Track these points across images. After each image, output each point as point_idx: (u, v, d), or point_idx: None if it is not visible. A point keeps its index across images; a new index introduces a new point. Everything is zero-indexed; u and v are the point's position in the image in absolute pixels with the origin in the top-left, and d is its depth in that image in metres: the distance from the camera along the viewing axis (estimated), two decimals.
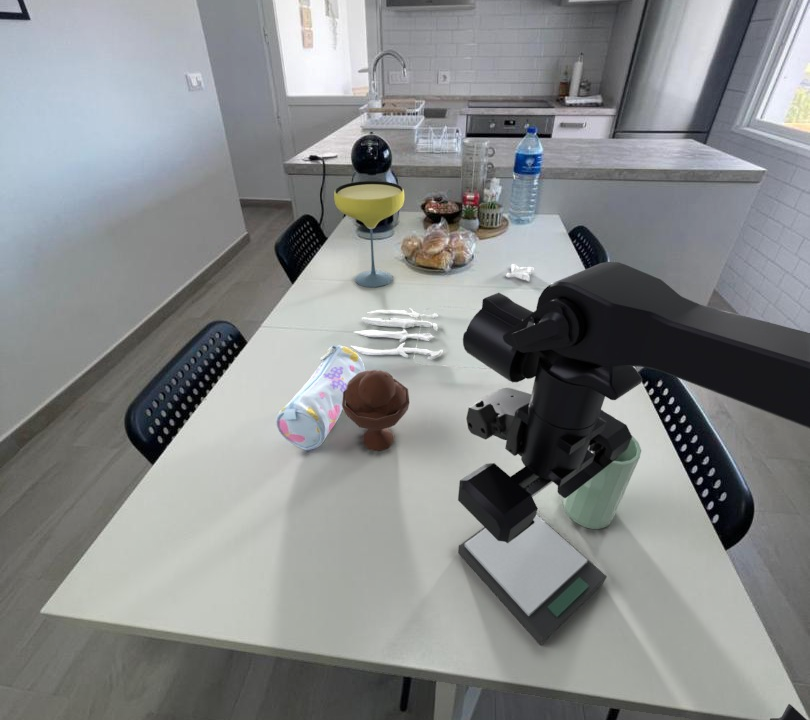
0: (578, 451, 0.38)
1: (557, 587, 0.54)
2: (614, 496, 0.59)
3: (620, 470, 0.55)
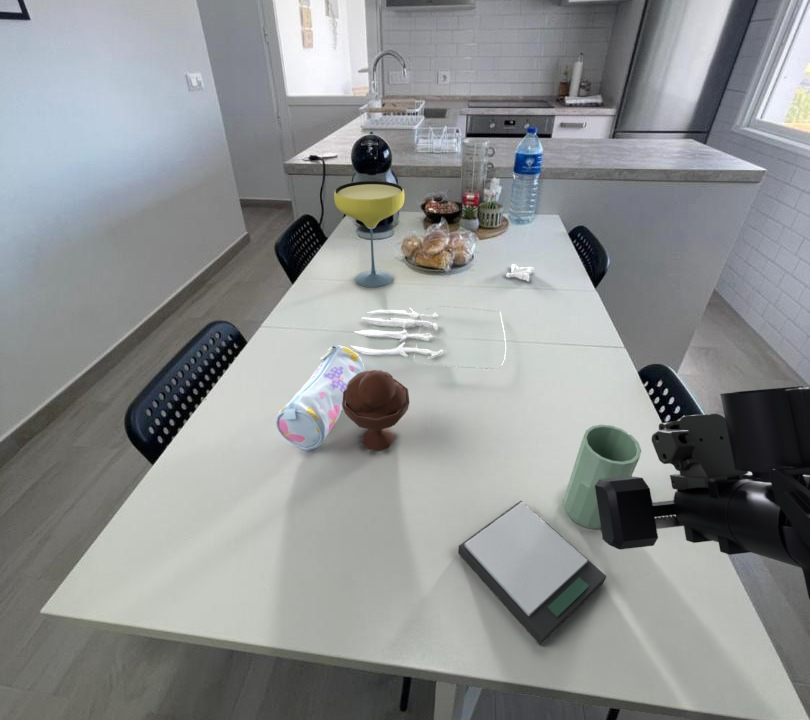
0: None
1: (557, 587, 0.54)
2: None
3: (620, 470, 0.55)
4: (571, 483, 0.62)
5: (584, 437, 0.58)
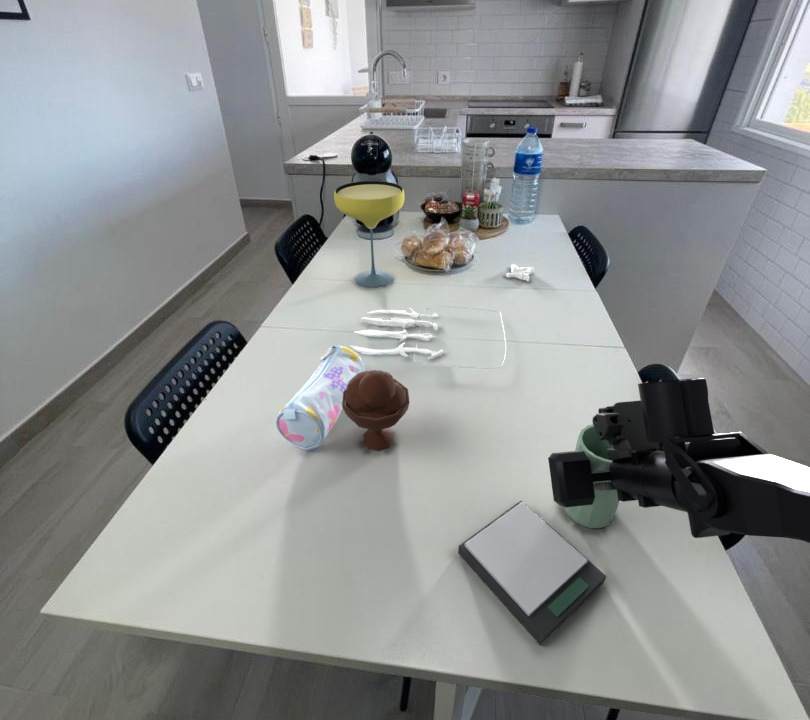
0: None
1: (557, 587, 0.54)
2: (611, 495, 0.58)
3: None
4: None
5: (579, 436, 0.59)
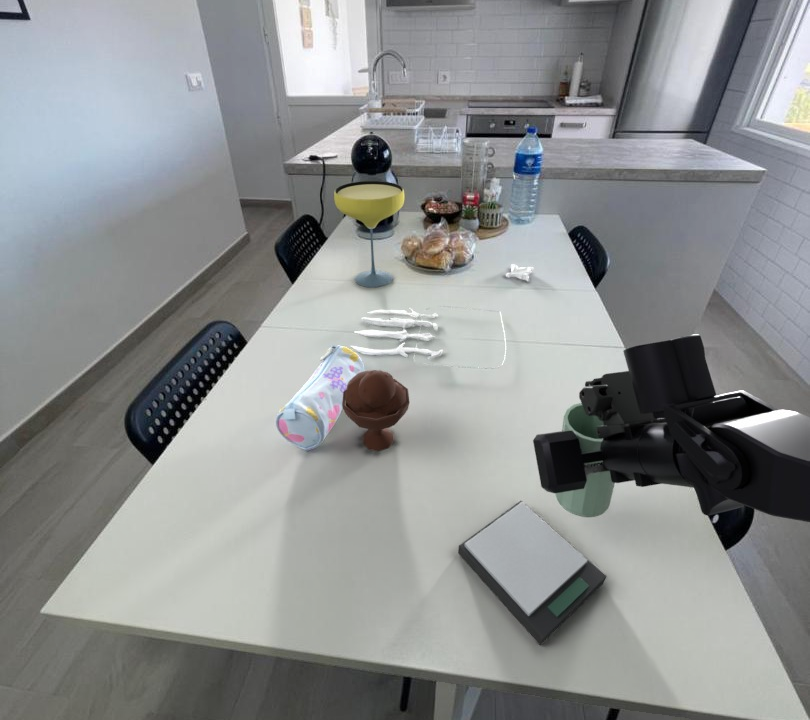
0: None
1: (557, 587, 0.54)
2: (604, 479, 0.53)
3: None
4: None
5: (565, 416, 0.54)
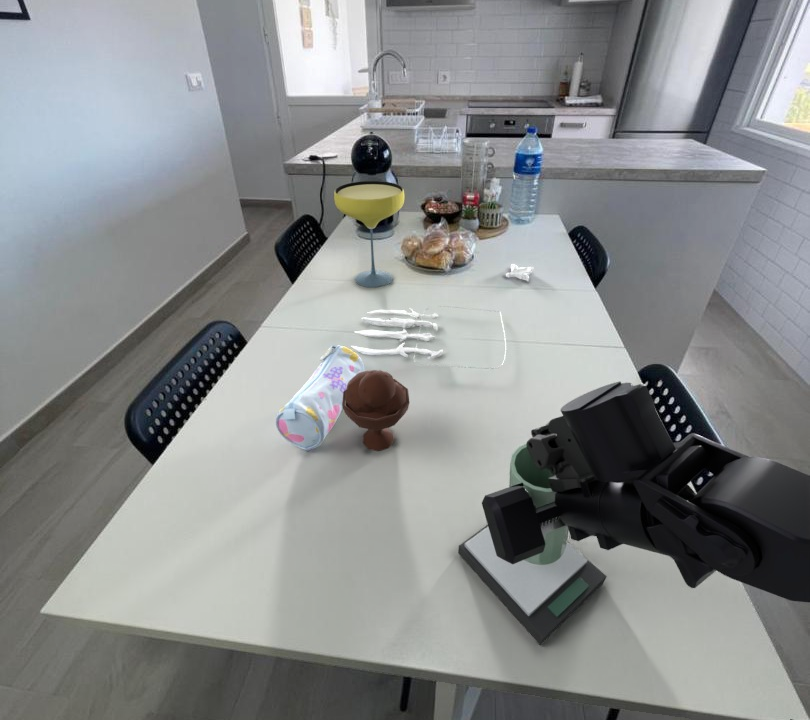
0: None
1: (557, 587, 0.54)
2: None
3: None
4: None
5: (511, 464, 0.48)
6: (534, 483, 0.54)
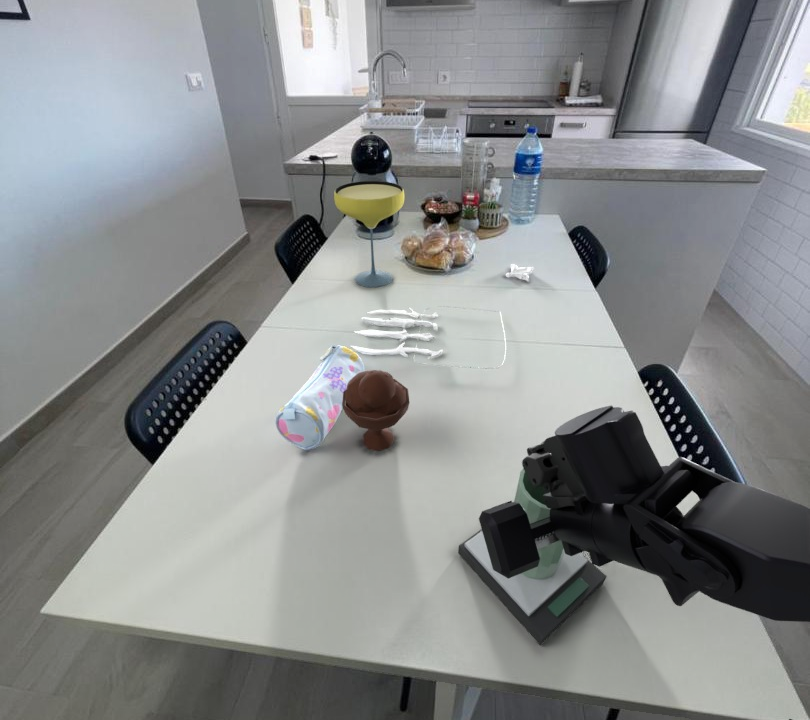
0: None
1: (557, 587, 0.54)
2: (560, 543, 0.50)
3: None
4: None
5: (520, 481, 0.50)
6: (535, 500, 0.56)
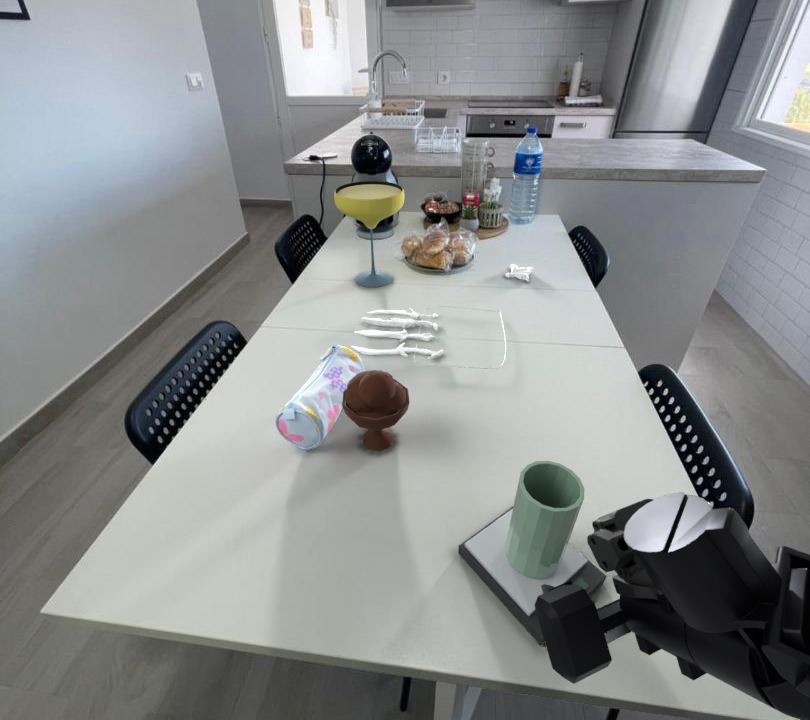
0: None
1: None
2: (560, 544, 0.50)
3: (565, 517, 0.47)
4: (511, 531, 0.54)
5: (520, 481, 0.50)
6: None
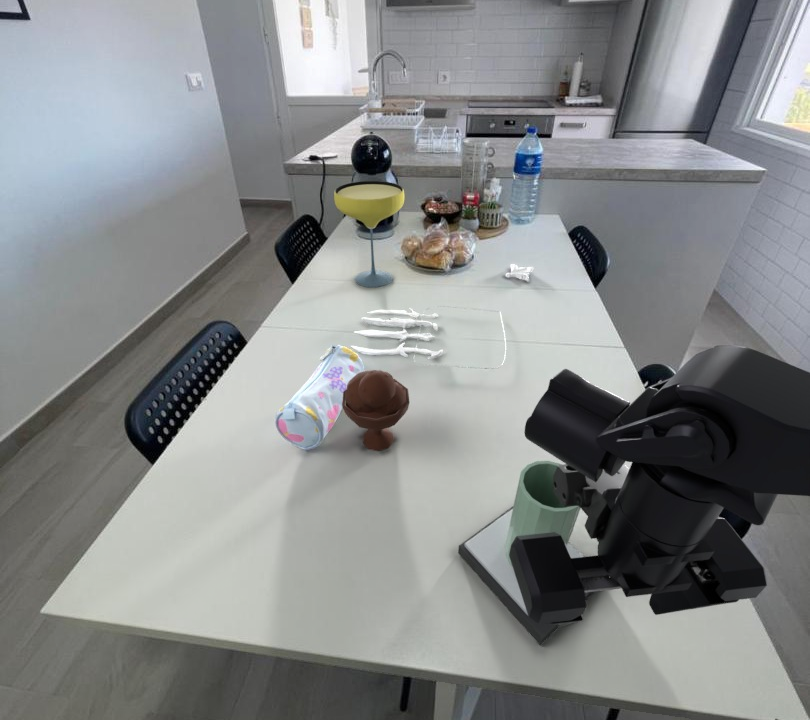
0: (661, 567, 0.31)
1: None
2: None
3: (565, 517, 0.47)
4: (511, 531, 0.54)
5: (520, 481, 0.50)
6: None
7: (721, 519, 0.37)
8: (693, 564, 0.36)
